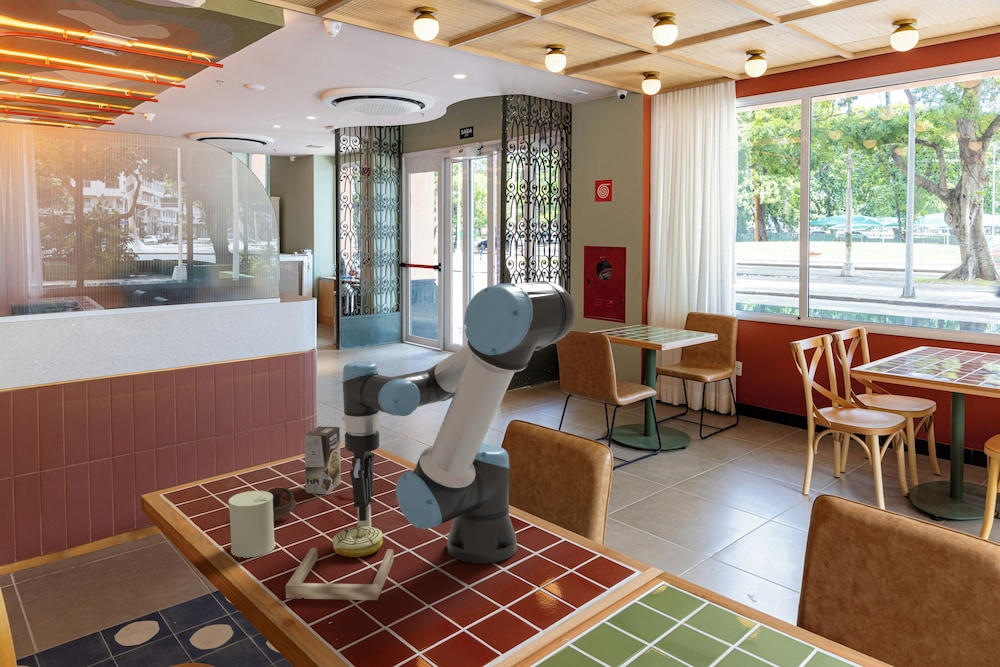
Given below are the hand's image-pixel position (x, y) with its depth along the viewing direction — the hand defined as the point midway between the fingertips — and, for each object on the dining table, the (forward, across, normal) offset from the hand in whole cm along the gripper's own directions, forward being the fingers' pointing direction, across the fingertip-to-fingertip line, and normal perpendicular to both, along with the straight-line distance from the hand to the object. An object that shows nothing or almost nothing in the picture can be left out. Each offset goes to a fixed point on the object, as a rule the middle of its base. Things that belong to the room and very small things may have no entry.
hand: (364, 531), depth 160 cm
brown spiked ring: (+2, -11, -26) cm, 28 cm away
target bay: (+1, +19, 0) cm, 19 cm away
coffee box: (+2, -30, -18) cm, 35 cm away
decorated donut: (+2, +6, 0) cm, 6 cm away
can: (+1, +7, -23) cm, 24 cm away
